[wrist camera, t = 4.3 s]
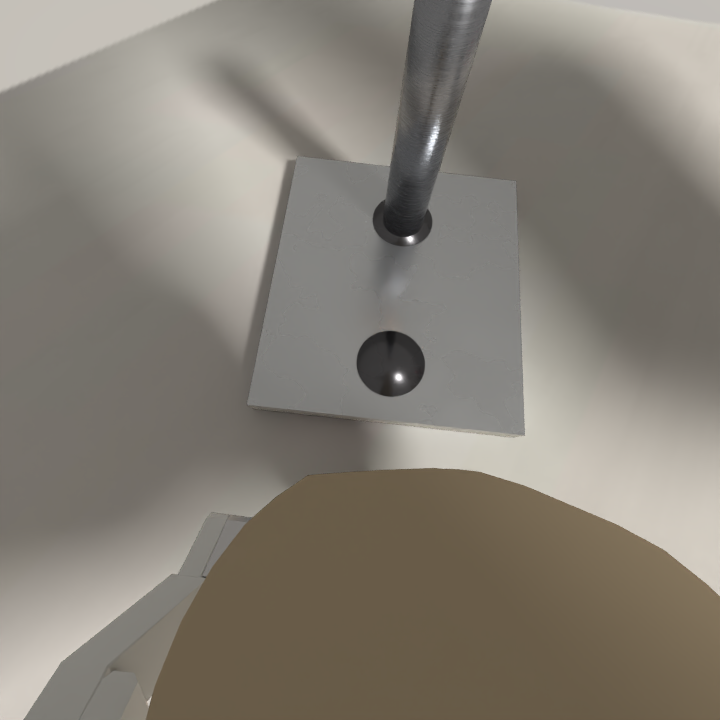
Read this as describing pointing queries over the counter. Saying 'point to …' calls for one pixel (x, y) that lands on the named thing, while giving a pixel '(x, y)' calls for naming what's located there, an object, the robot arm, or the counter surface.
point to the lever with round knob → (429, 103)
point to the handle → (441, 611)
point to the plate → (395, 305)
